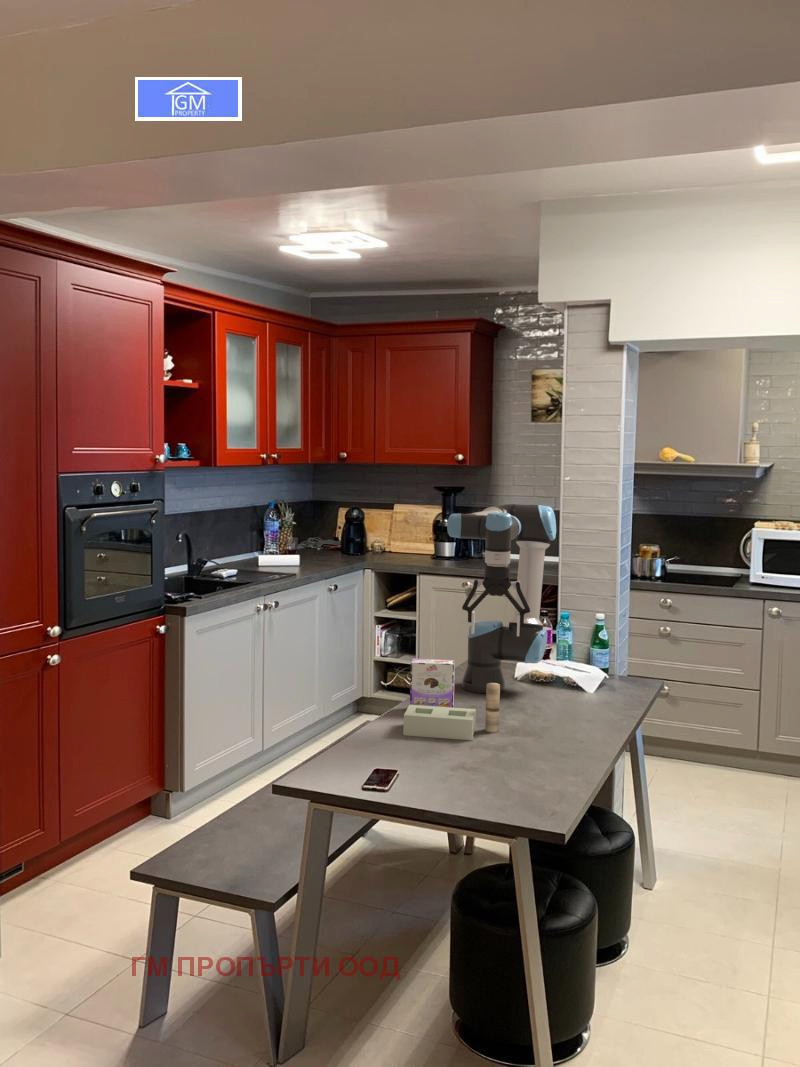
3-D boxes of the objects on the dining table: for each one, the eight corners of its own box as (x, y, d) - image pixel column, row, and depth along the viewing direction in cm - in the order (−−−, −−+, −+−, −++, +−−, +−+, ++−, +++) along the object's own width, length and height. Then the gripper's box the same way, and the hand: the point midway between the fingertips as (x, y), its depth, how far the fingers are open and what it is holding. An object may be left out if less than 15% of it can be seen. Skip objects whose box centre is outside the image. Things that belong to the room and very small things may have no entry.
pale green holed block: (409, 723, 288) (409, 704, 287) (475, 728, 285) (475, 709, 284) (403, 735, 277) (403, 715, 276) (471, 740, 274) (472, 720, 273)
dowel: (485, 727, 286) (486, 682, 284) (499, 728, 285) (500, 683, 284) (484, 732, 282) (485, 686, 280) (498, 733, 281) (499, 686, 280)
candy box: (453, 709, 304) (455, 659, 302) (452, 715, 298) (454, 663, 296) (410, 707, 305) (412, 657, 303) (409, 713, 299) (410, 661, 297)
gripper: (454, 564, 282) (452, 635, 284) (539, 568, 278) (537, 639, 281) (456, 561, 289) (454, 629, 292) (539, 564, 286) (537, 633, 288)
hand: (495, 634), depth 286 cm, fingers open, 13 cm apart
